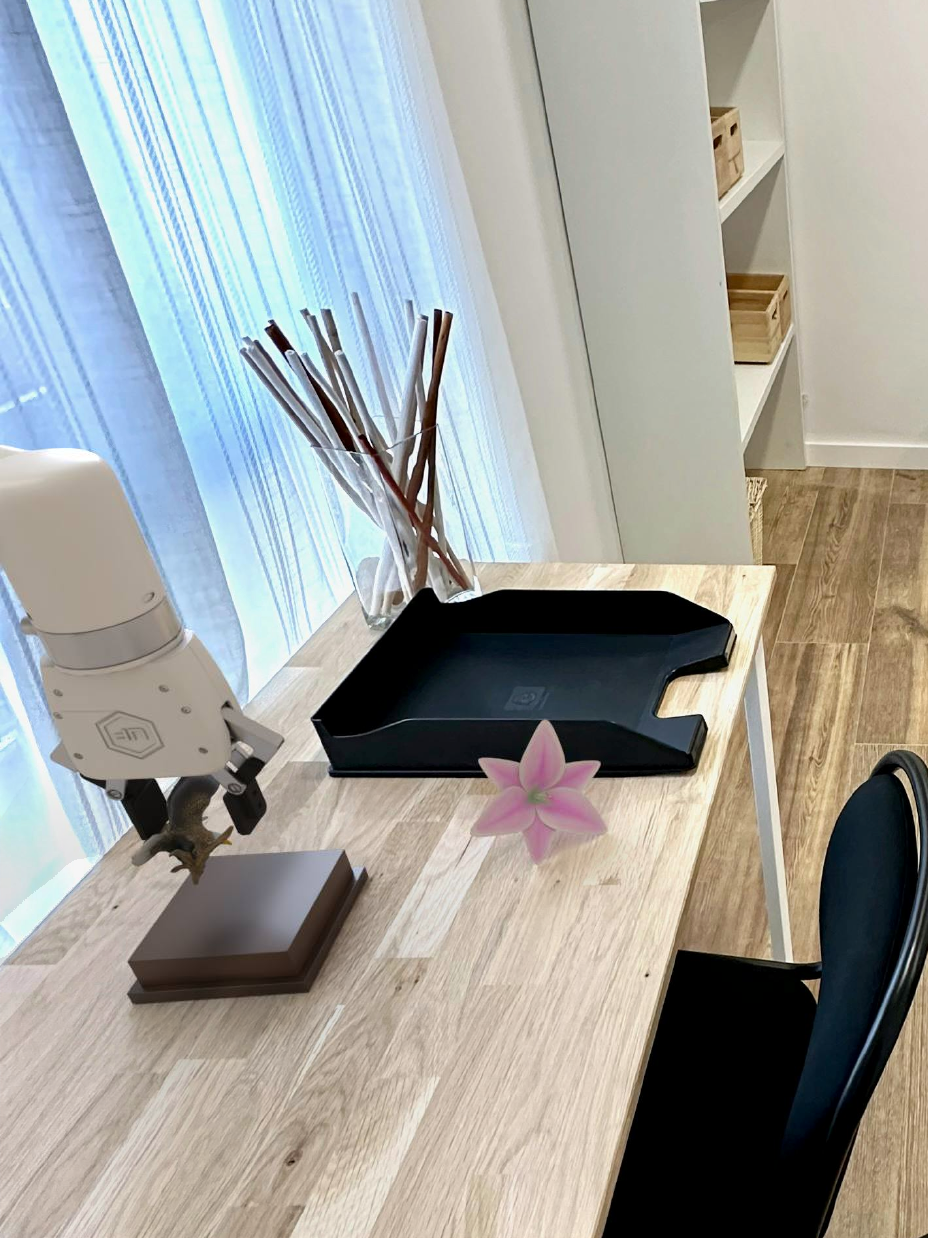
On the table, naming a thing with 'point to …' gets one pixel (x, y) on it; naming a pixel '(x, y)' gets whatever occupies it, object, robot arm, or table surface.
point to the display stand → (247, 927)
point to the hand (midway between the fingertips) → (205, 824)
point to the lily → (539, 795)
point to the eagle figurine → (186, 828)
